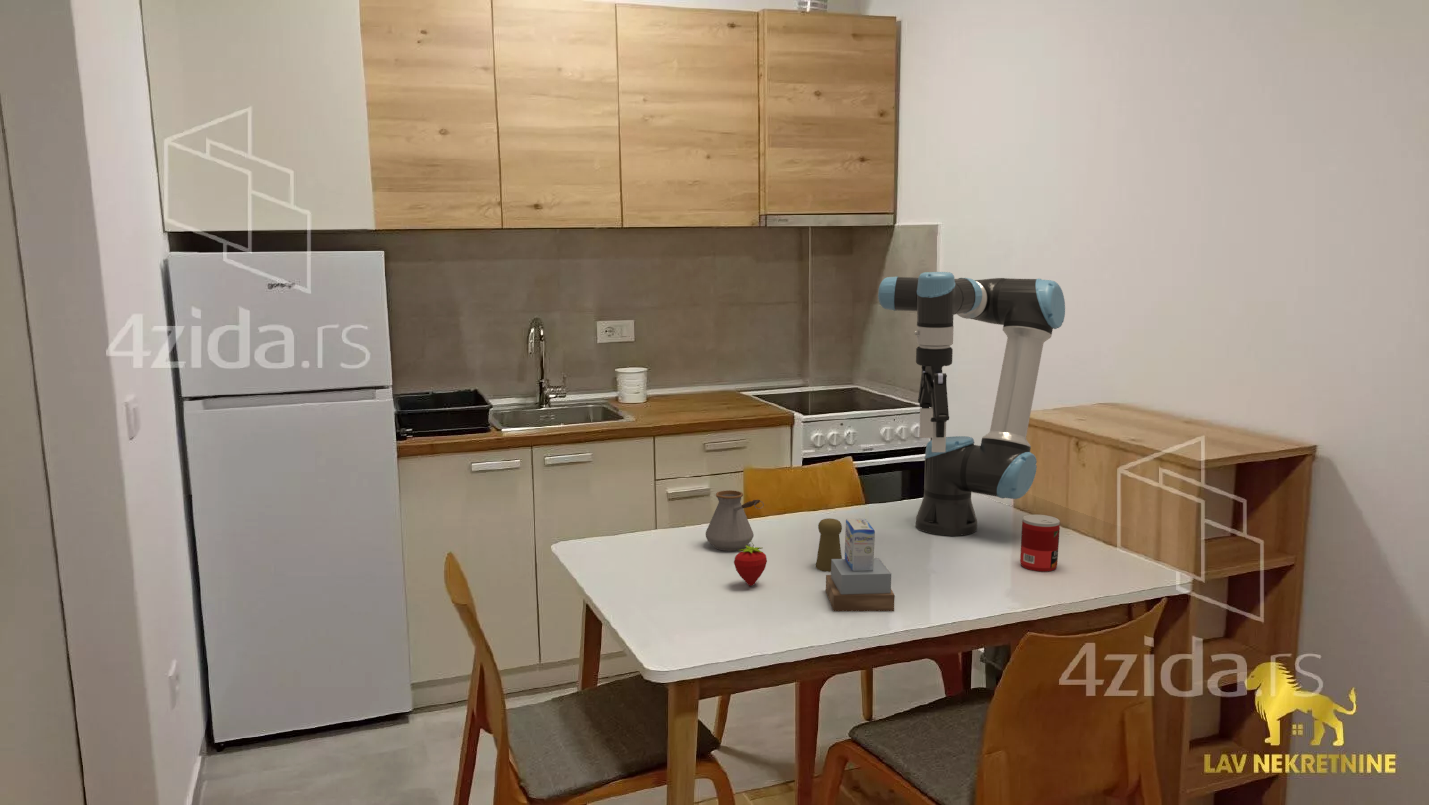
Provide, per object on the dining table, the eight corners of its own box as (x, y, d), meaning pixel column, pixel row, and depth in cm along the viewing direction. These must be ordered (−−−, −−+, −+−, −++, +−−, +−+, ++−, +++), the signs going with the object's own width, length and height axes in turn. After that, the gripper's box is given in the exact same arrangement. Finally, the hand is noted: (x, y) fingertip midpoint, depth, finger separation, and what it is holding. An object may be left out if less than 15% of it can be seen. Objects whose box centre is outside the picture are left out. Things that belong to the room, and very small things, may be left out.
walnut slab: (825, 593, 213) (826, 575, 212) (882, 593, 213) (883, 574, 213) (833, 614, 201) (833, 595, 201) (893, 614, 202) (894, 595, 201)
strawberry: (727, 585, 216) (727, 539, 214) (755, 578, 220) (756, 533, 219) (744, 593, 211) (744, 546, 210) (773, 586, 216) (773, 540, 214)
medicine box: (844, 559, 210) (844, 518, 209) (865, 558, 210) (866, 518, 209) (852, 571, 202) (853, 529, 201) (874, 571, 203) (875, 529, 201)
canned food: (1059, 573, 224) (1062, 524, 222) (1021, 570, 226) (1024, 522, 224) (1054, 562, 231) (1057, 515, 230) (1018, 560, 233) (1020, 513, 231)
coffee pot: (697, 542, 246) (697, 481, 243) (740, 536, 250) (740, 477, 248) (736, 568, 227) (736, 503, 224) (781, 562, 231) (782, 497, 229)
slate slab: (830, 577, 211) (831, 559, 210) (878, 576, 212) (879, 558, 211) (841, 594, 201) (841, 575, 200) (890, 593, 202) (891, 573, 201)
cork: (825, 573, 224) (826, 524, 222) (810, 565, 229) (811, 518, 227) (848, 569, 226) (849, 521, 224) (832, 561, 232) (833, 514, 230)
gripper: (906, 338, 227) (904, 432, 231) (928, 354, 202) (925, 458, 206) (939, 338, 227) (937, 431, 231) (966, 354, 202) (962, 458, 206)
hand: (931, 444), depth 219 cm, fingers open, 13 cm apart
